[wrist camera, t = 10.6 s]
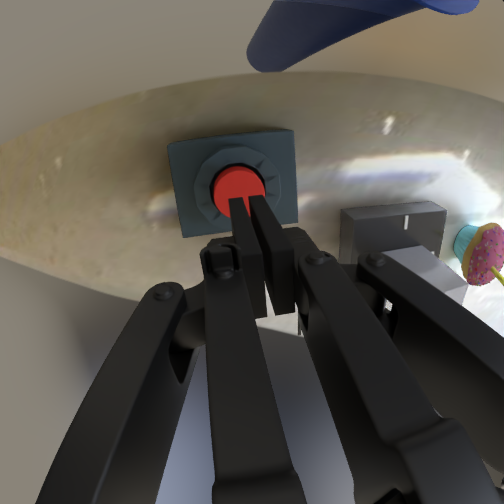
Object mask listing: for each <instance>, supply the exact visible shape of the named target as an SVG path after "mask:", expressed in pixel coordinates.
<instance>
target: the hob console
mask: <svg viewBox="0 0 504 504" xmlns="http://www.w3.org/2000/svg"><path fill="white" fill-rule="evenodd" d="M446 215H447V210H446V209H444V208H443V207H441V206H439V205H437V204H435V203H434V202H432V201H428V202H415V203H403V204H392V205H380V206H370V207H359V208H349V209H341V229H340V251H339V263H340V264H357V258H358V256H359V255H360V254H362V253H364V252H369V251H373V252H374V251H377V252H380V253H381V252H385V251H391V250H397V249H403V248H409V247H415V246H420V245H422V246H424V247H425V248H426V249H427V250H429V251H430V252H431V253H432V254H434V255H435V256H436V257H437V258H439V254H440V249H441V244H442V239H443V233H444V228H445V222H446Z"/></svg>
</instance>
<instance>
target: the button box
mask: <svg viewBox="0 0 504 504" xmlns="http://www.w3.org/2000/svg"><path fill="white" fill-rule="evenodd" d="M167 149H168V155H169V162H170V168H171V174H172V180H173V186H174V192H175V198H176V203H177V209H178V214H179V219H180V225H181V230H182V235H183V238H187V237H194V236H201V235H208V234H215V233H223V232H230V231H232V226H231V218H229V217H227V216H225V215H224V214H222V213H221V212H220V211H219V209H218V208H217V206H216V204H215V201H214V183H215V181H216V179H217V177H218V176H219V175H220V173H221V172H223V171H224V170H226V169H228V168H230V167H234V166H242V167H246V168H248V169H250V170H252V171H253V172H254V173H255V174H256V175H257V176H258V178H259V179H260V180H261V182H262V184H263V186H264V190H265V200H266V202H267V203H268V205H269V207H270V208H271V210H272V212H273V213H274V215H275V217H276V218H277V220H278V222H279V223H280V225H283V224H291V223H298V206H297V181H296V161H295V144H294V131H293V130H288V129H281V130H267V131H255V132H245V133H235V134H227V135H219V136H211V137H204V138H197V139H190V140H184V141H178V142H172V143H170V144H169V145H167Z"/></svg>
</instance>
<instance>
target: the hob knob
mask: <svg viewBox="0 0 504 504" xmlns="http://www.w3.org/2000/svg"><path fill="white" fill-rule="evenodd" d="M381 253H384V254H386V255H388V256H390V257H391V258H393V259H394V260H396V261H397V262H399V263H401V264H402V265H404V266H405V267H407V268H408V269H410V270H411V271H413V272H414V273H416V274H417V275H419V276H420V277H422V278H423V279H425V280H426V281H427V282H429V283H430V284H432V285H433V286H435V287H436V288H438V289H439V290H440V291H442V292H443V293H445V294H446V295H448V296H449V297H450V298H452V299H453V300H455V301H456V302H457V303H459V304H460V305H461V306H462V303H463V300H464V297H465V294H466V291H467V288H468V285H469V284H468V283H467V282H466V281H464V280H463V279H462V278H461V277H460V276H459V275H458V274H456V273H455V272H454V271H453V270H452V269H451V268H449V267H448V266H447V265H446V264H445V263H443V262H442V261H441V260H440V259H439V258H437V257H436V256H435V255H434V254H432V253H431V252H430V251H429V250H427V249H426V248H425V247H424V246H422V245H420V246H415V247H409V248H403V249H397V250H391V251H385V252H381Z"/></svg>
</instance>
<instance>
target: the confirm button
mask: <svg viewBox="0 0 504 504" xmlns="http://www.w3.org/2000/svg"><path fill="white" fill-rule="evenodd" d="M253 195H263V197H264V198H265V190H264V186H263V184H262V182H261V180H260V179H259V178H258V176H257V175H256V174H255V173H254V172H253V171H252V170H250V169H248V168H246V167H242V166H234V167H230V168H228V169H226V170H224V171H223V172H221V173H220V175H219V176H218V177H217V179H216V181H215V183H214V201H215V204H216V206H217V208H218V209H219V211H220V212H221V213H222V214H224V215H225V216H227V217H229V218H230V210H229V202H228V199H230V198H237V197H243V200H244V203H245V206H246V208H247V211H248V214H249V217H250V210H249V200H248V196H253Z"/></svg>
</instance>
